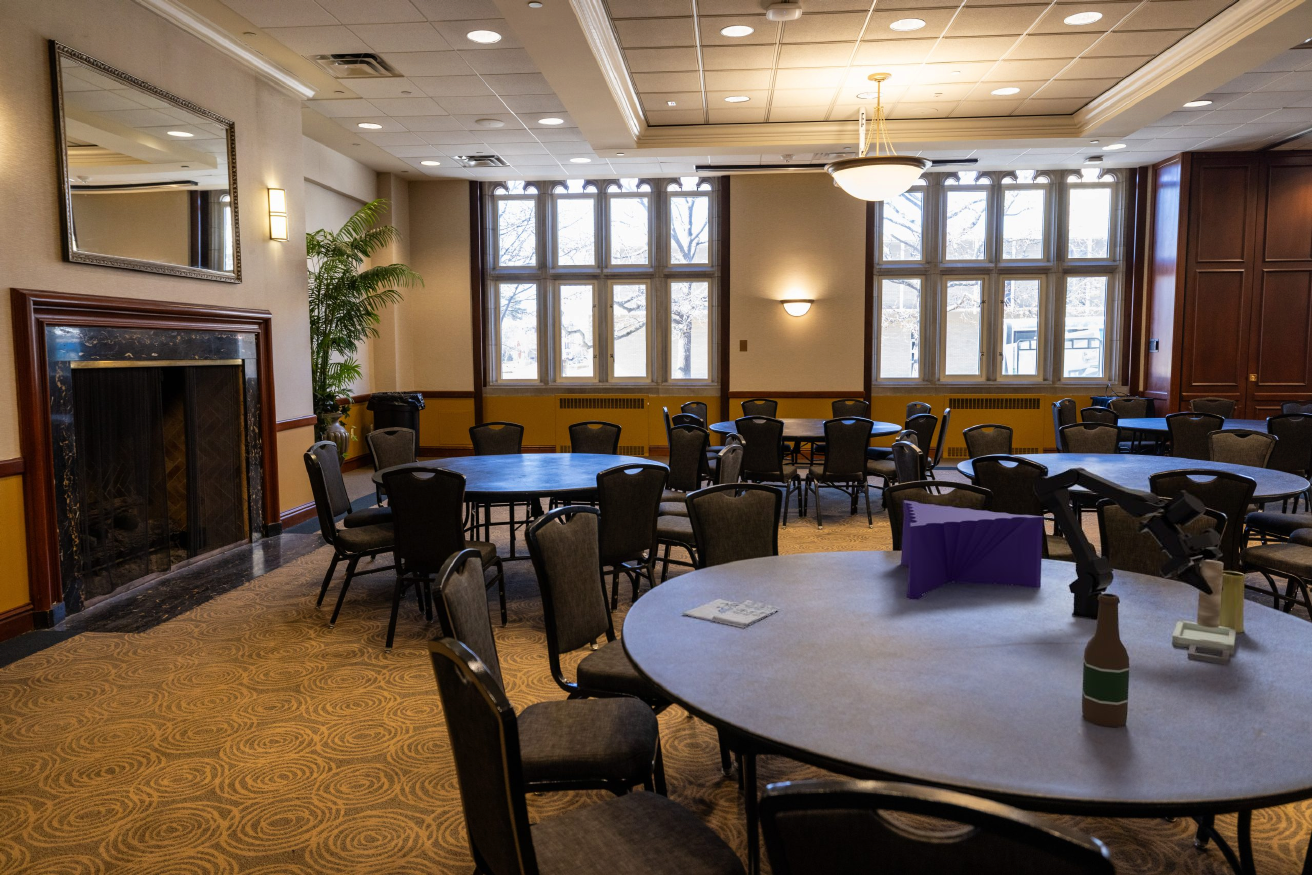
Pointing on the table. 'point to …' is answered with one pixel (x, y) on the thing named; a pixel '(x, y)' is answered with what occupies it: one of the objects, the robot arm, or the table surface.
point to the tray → (1203, 636)
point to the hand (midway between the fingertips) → (1216, 592)
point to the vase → (1232, 601)
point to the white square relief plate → (732, 612)
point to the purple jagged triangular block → (969, 547)
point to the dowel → (1211, 603)
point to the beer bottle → (1106, 669)
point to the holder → (1210, 650)
